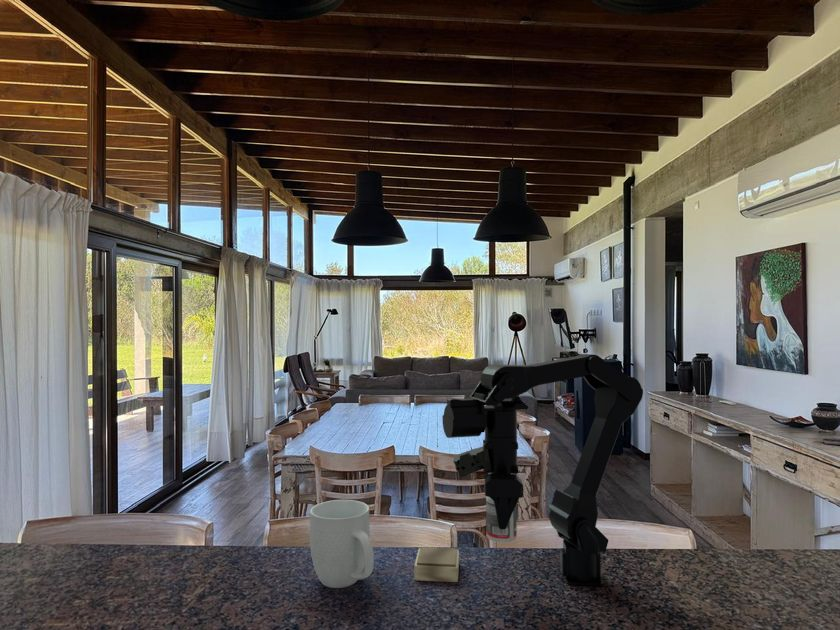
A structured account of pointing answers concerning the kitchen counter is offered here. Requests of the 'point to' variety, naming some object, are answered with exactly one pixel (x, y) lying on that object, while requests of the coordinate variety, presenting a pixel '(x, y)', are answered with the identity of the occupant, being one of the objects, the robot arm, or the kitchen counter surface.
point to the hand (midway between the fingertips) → (501, 523)
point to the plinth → (437, 564)
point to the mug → (341, 542)
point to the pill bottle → (493, 527)
